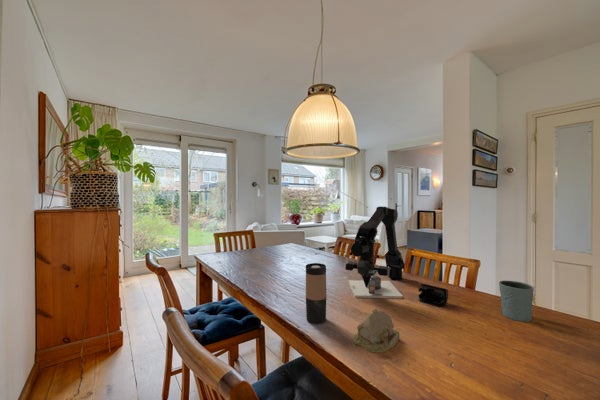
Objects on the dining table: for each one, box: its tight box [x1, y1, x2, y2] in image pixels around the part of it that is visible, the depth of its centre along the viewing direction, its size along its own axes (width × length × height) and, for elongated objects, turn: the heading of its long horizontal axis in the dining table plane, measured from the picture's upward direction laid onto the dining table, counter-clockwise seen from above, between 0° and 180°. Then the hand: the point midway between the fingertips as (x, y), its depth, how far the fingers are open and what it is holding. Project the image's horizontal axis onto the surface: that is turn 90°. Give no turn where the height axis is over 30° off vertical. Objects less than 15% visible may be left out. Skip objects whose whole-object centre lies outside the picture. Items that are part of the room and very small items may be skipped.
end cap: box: [418, 283, 449, 309], centre depth 111 cm, size 10×7×7 cm
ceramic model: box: [352, 308, 400, 353], centre depth 82 cm, size 14×11×10 cm
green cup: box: [498, 280, 535, 323], centre depth 97 cm, size 10×10×12 cm
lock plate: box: [348, 279, 404, 299], centre depth 126 cm, size 21×21×1 cm
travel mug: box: [305, 262, 327, 325], centre depth 96 cm, size 8×8×20 cm
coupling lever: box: [367, 274, 382, 294], centre depth 122 cm, size 16×7×5 cm, turn 160°
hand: (366, 287), depth 118 cm, fingers closed
